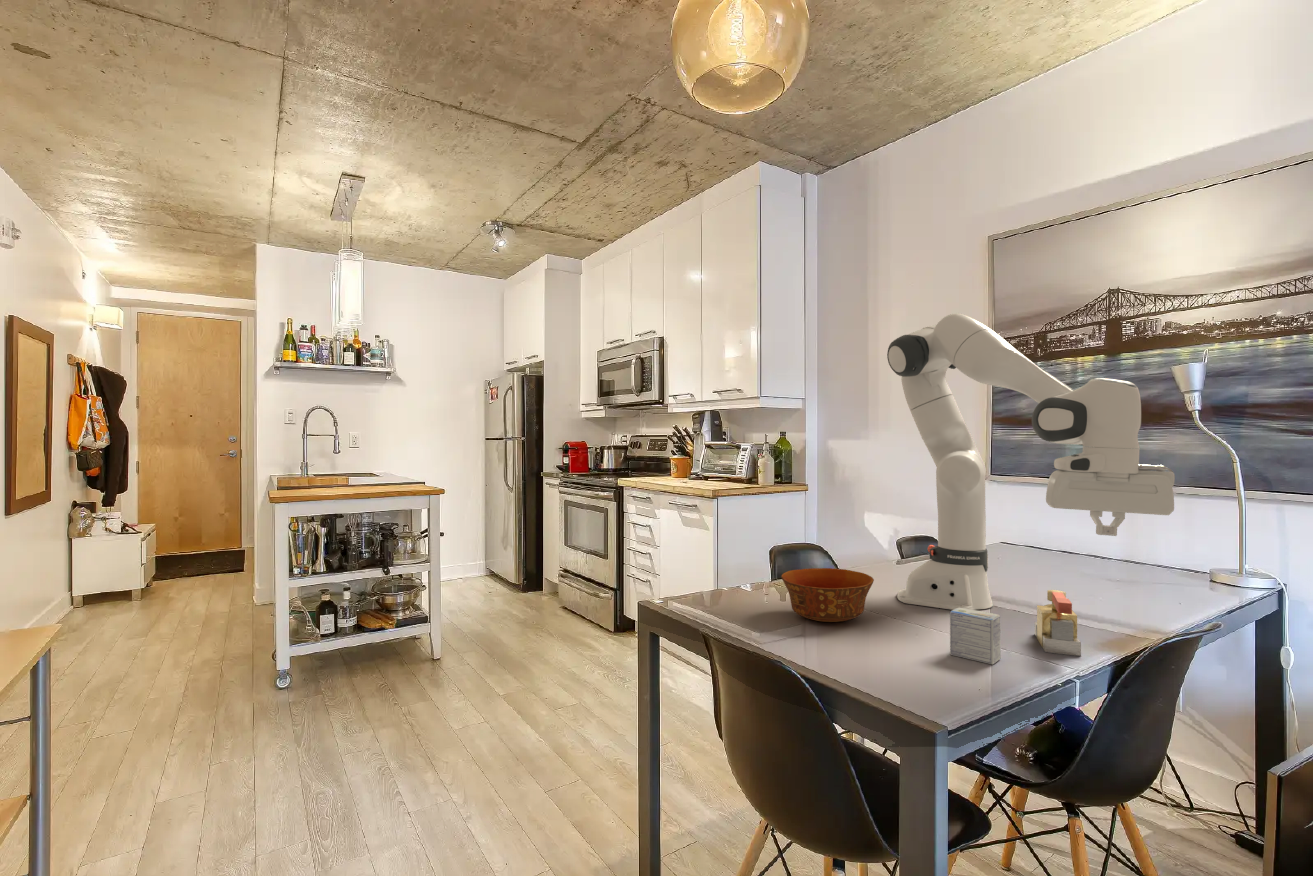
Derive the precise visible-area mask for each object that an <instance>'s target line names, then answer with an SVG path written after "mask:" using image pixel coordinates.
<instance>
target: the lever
mask: <svg viewBox="0 0 1313 876" xmlns="http://www.w3.org/2000/svg"><path fill="white" fill-rule="evenodd" d="M1046 592H1047V598H1046V599H1047V601H1048V602H1051V603H1052V602H1053V603H1054V605H1055V608H1056V610H1057V612H1058V613H1065V614H1072V610H1073V602H1071V600H1070V599H1069V598H1067V593H1066V591H1064V590H1063V591H1062V590H1060V589H1059V590H1057V589H1048V590H1047V591H1046Z"/></svg>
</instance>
